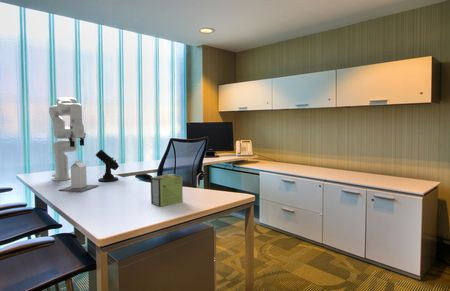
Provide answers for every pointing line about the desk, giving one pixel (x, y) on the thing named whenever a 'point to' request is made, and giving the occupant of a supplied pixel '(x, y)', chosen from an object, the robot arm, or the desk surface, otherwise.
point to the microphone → (107, 167)
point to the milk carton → (78, 175)
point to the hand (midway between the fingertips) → (77, 146)
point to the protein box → (166, 190)
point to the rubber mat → (79, 188)
